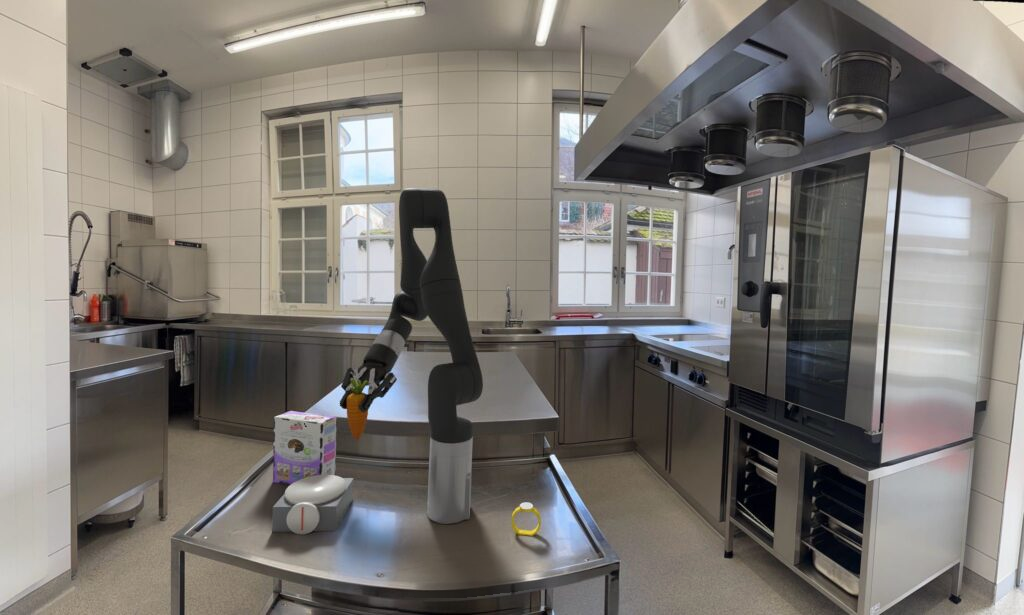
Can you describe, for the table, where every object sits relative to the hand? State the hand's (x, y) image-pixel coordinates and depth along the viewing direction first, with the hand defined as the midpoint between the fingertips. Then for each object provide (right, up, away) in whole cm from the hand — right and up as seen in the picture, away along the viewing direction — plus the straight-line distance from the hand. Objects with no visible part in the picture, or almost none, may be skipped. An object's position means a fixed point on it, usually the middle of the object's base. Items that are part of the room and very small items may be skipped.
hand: (352, 408), depth 95 cm
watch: (+40, -23, -12) cm, 48 cm away
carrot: (0, -8, +2) cm, 9 cm away
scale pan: (-4, -15, -9) cm, 18 cm away
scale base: (-4, -20, -9) cm, 23 cm away
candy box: (-14, -19, +5) cm, 24 cm away
